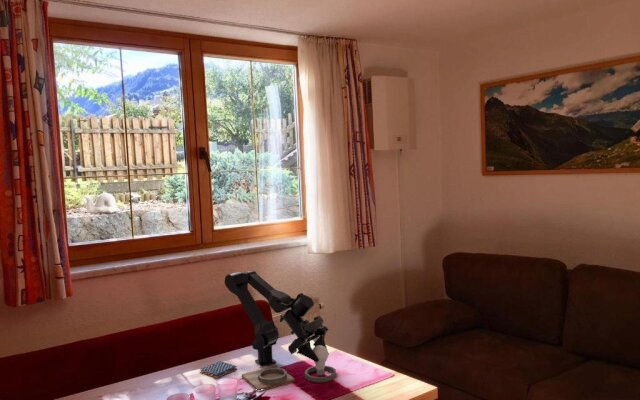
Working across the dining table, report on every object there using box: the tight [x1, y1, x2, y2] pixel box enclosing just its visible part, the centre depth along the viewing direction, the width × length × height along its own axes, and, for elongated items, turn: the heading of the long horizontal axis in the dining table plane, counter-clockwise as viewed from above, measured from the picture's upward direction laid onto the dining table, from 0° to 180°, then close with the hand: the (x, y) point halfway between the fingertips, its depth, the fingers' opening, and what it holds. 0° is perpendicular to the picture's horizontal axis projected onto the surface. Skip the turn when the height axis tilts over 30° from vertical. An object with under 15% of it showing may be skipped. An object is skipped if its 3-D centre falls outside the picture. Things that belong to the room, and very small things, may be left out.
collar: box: [304, 365, 337, 383], centre depth 180 cm, size 11×11×2 cm
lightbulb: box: [312, 345, 329, 377], centre depth 179 cm, size 6×6×11 cm
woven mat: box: [199, 360, 238, 379], centre depth 188 cm, size 10×11×2 cm
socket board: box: [241, 365, 296, 391], centre depth 178 cm, size 15×14×2 cm
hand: (323, 358), depth 178 cm, fingers closed on lightbulb, 6 cm apart
